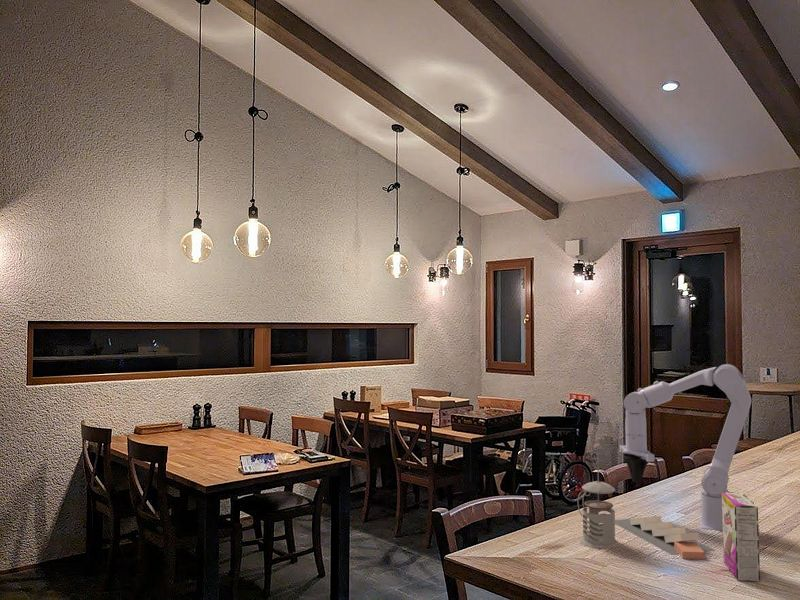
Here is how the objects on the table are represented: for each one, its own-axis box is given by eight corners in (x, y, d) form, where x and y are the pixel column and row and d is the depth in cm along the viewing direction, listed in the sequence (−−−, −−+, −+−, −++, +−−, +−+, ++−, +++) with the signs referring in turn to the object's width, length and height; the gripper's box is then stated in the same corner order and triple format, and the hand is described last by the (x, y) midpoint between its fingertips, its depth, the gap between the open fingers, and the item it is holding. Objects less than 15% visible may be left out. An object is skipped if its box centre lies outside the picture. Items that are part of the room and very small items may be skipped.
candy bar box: (721, 562, 156) (720, 491, 156) (745, 564, 155) (743, 492, 155) (735, 581, 145) (734, 504, 145) (761, 583, 144) (759, 505, 144)
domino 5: (674, 541, 164) (682, 551, 158) (695, 542, 164) (704, 552, 157) (674, 548, 164) (682, 558, 158) (695, 549, 164) (704, 559, 157)
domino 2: (640, 524, 179) (655, 523, 172) (656, 522, 180) (672, 521, 174) (641, 530, 178) (656, 529, 172) (658, 529, 179) (673, 528, 173)
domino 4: (664, 536, 169) (680, 534, 163) (681, 534, 170) (698, 532, 164) (665, 542, 168) (681, 541, 162) (683, 541, 169) (699, 539, 163)
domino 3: (651, 529, 174) (667, 528, 168) (668, 528, 175) (684, 527, 169) (652, 536, 173) (668, 535, 167) (669, 534, 175) (686, 533, 168)
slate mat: (609, 521, 187) (609, 520, 187) (647, 518, 190) (647, 517, 190) (671, 556, 160) (671, 554, 160) (715, 552, 163) (715, 550, 163)
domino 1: (629, 518, 184) (643, 517, 177) (645, 517, 185) (660, 516, 178) (630, 524, 183) (644, 523, 177) (647, 523, 184) (661, 522, 178)
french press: (598, 551, 164) (596, 448, 164) (566, 538, 174) (564, 441, 175) (628, 545, 168) (626, 444, 169) (594, 532, 178) (593, 437, 179)
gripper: (609, 430, 199) (610, 477, 198) (638, 439, 184) (638, 489, 184) (631, 429, 200) (632, 475, 200) (660, 438, 186) (661, 487, 186)
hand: (636, 482), depth 192 cm, fingers closed
